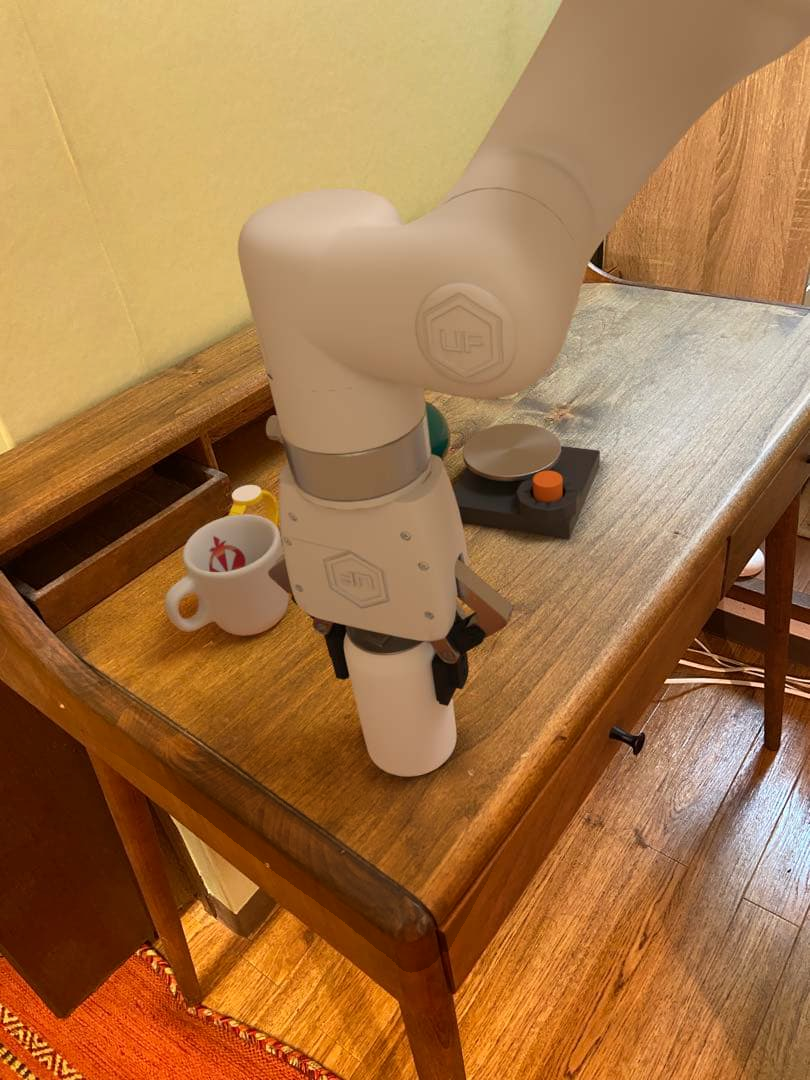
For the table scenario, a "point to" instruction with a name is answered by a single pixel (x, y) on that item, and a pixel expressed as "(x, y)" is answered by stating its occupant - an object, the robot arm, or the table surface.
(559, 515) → the scale
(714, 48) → the robot arm
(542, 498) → the button
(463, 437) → the table surface
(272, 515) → the watch
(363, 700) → the can
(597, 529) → the table surface
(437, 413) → the sphere
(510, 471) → the brushed metal disc
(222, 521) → the cup
